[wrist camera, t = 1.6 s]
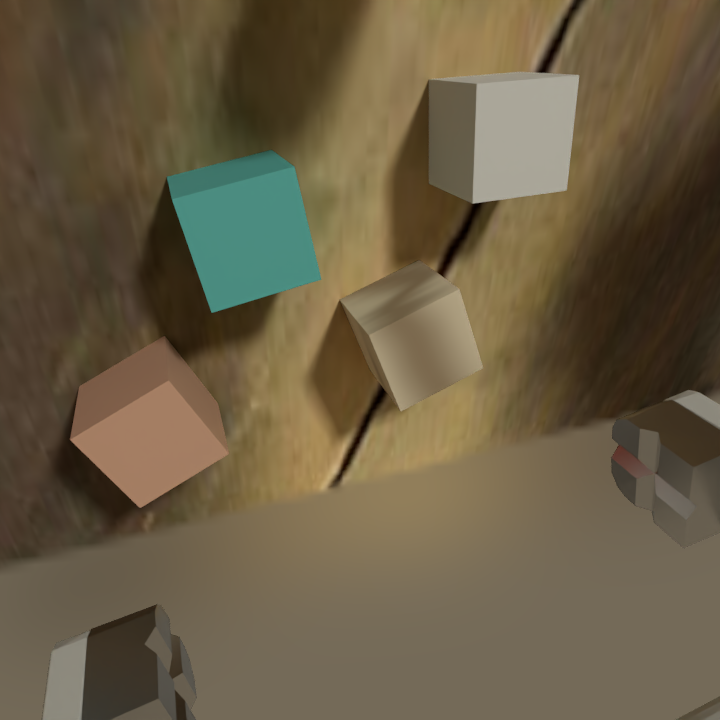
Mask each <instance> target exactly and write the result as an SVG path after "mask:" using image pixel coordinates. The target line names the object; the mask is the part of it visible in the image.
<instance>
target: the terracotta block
mask: <svg viewBox="0 0 720 720" xmlns="http://www.w3.org/2000/svg"><path fill="white" fill-rule="evenodd" d="M70 440H71V441H72V442H73V443H74V444H75V445H76V446H77V447H78V448H79V449H80V450H81V451H82V452H83V453H84V454H85V455H86V456H87V457H88V458H89V459H90V460H91V461H92V462H93V463H94V464H95V465H96V466H97V467H98V468H99V469H100V470H101V471H102V472H103V473H105V474H106V475H107V476H108V477H109V478H110V479H111V480H112V481H113V482H114V483H115V484H116V485H117V486H118V487H119V488H120V489H121V490H122V491H123V492H124V493H125V494H126V495H127V496H128V497H129V498H130V499H131V500H132V501H133V502H134V503H135V504H136V505H137V506H138V507H139V508H141V507H143V506H144V505H146V504H148V503H149V502H151V501H153V500H154V499H156V498H158V497H159V496H161V495H162V494H164V493H166V492H167V491H169V490H171V489H172V488H174V487H176V486H177V485H179V484H180V483H182V482H184V481H185V480H187V479H189V478H190V477H192V476H194V475H195V474H197V473H198V472H200V471H202V470H203V469H205V468H207V467H208V466H210V465H211V464H213V463H215V462H216V461H218V460H220V459H221V458H223V457H225V456H226V455H228V454H229V451H228V446H227V442H226V437H225V433H224V428H223V424H222V420H221V415H220V411H219V406H218V403H217V402H216V400H215V399H214V398H213V397H212V395H211V394H210V393H209V392H208V390H207V389H206V388H205V386H204V385H203V384H202V383H201V381H200V380H199V379H198V377H197V376H196V375H195V374H194V372H193V371H192V370H191V369H190V367H189V366H188V365H187V363H186V362H185V361H184V360H183V358H182V357H181V356H180V355H179V353H178V352H177V351H176V349H175V348H174V347H173V346H172V344H171V343H170V342H169V341H168V339H167V338H166V337H165V336H163V337H161V338H160V339H158V340H156V341H155V342H153V343H151V344H150V345H148V346H146V347H145V348H143V349H141V350H140V351H138V352H136V353H135V354H133V355H131V356H130V357H128V358H126V359H125V360H123V361H121V362H120V363H118V364H116V365H115V366H113V367H111V368H110V369H108V370H106V371H104V372H103V373H101V374H99V375H98V376H96V377H94V378H93V379H91V380H89V381H88V382H86V383H84V384H83V385H81V386H79V391H78V397H77V402H76V408H75V414H74V420H73V425H72V431H71V437H70Z"/></svg>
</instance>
